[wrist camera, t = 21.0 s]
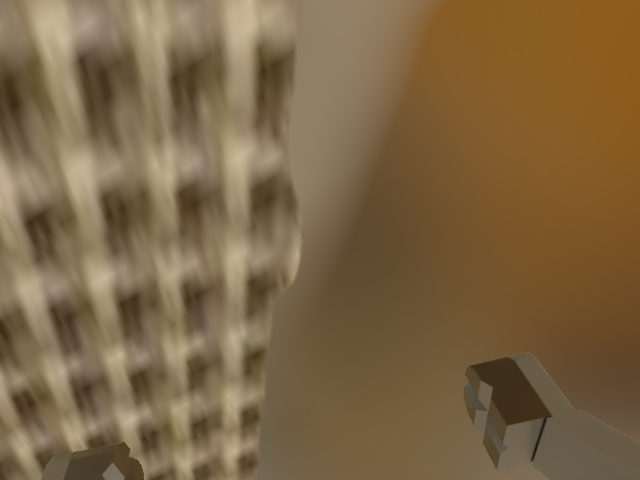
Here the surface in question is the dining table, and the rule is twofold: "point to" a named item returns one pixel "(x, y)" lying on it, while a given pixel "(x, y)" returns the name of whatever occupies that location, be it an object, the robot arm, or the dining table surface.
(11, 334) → the dining table surface
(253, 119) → the dining table surface
